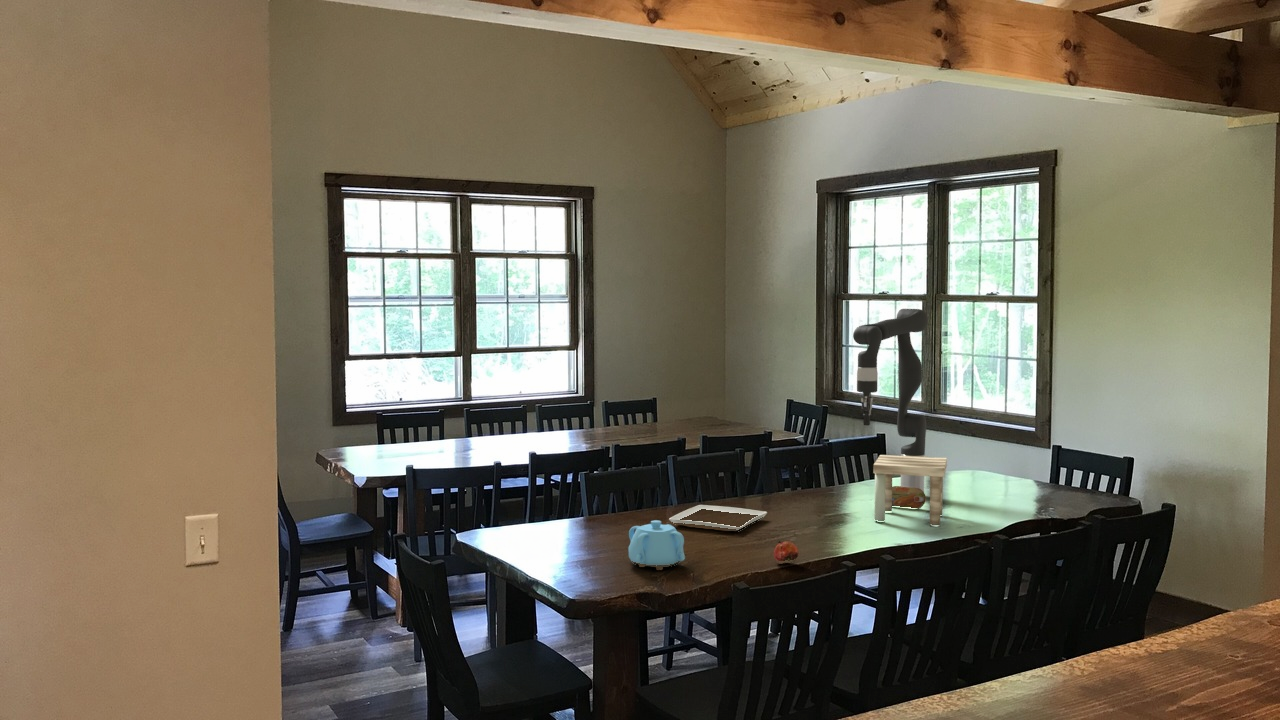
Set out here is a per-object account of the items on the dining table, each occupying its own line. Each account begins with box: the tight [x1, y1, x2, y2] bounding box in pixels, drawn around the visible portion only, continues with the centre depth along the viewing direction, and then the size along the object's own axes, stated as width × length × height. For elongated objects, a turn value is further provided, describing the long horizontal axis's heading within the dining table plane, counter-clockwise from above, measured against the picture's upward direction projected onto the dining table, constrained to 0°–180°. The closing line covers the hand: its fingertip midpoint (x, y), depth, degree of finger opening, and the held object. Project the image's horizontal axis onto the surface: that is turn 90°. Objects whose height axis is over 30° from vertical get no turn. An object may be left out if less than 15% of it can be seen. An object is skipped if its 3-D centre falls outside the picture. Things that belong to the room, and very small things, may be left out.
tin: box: [892, 485, 927, 510], centre depth 391 cm, size 15×3×8 cm, turn 62°
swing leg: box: [874, 473, 886, 521], centre depth 370 cm, size 13×4×17 cm, turn 156°
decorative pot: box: [627, 519, 686, 566], centre depth 309 cm, size 16×16×14 cm
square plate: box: [668, 504, 768, 530], centre depth 366 cm, size 27×27×4 cm
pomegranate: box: [773, 540, 800, 561], centre depth 310 cm, size 7×7×10 cm
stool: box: [872, 454, 948, 526], centre depth 371 cm, size 24×24×21 cm
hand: (866, 425), depth 387 cm, fingers closed
